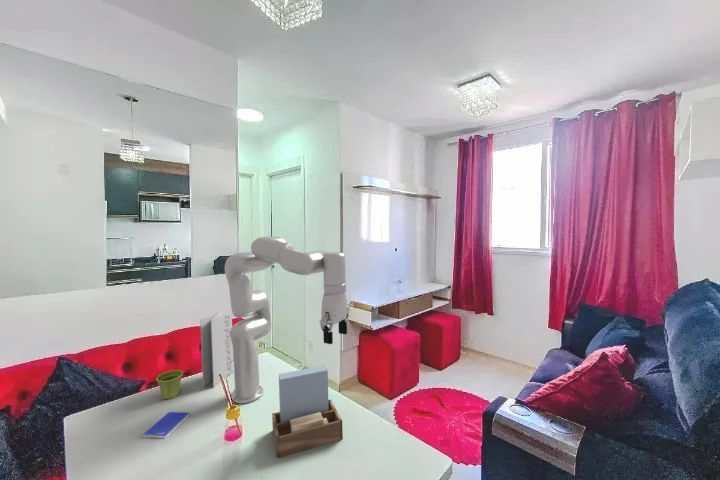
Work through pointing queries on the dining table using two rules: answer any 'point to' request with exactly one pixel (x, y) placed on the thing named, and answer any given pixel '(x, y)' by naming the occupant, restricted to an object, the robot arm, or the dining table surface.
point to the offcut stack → (307, 422)
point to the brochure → (216, 347)
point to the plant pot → (170, 383)
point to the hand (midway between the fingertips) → (335, 338)
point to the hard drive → (166, 425)
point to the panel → (303, 393)
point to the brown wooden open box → (306, 433)
